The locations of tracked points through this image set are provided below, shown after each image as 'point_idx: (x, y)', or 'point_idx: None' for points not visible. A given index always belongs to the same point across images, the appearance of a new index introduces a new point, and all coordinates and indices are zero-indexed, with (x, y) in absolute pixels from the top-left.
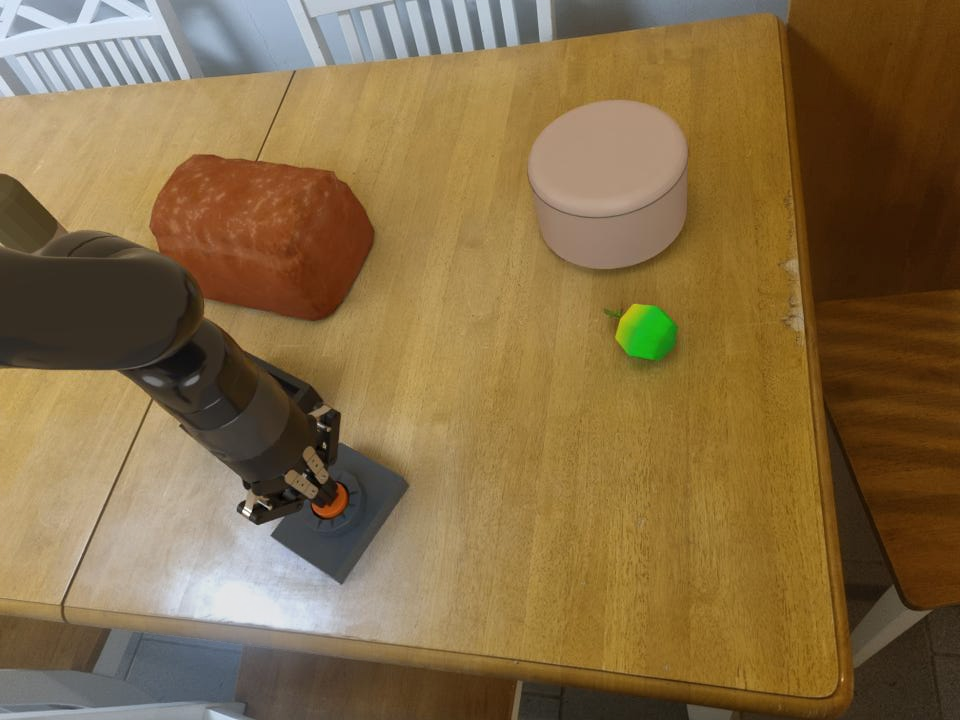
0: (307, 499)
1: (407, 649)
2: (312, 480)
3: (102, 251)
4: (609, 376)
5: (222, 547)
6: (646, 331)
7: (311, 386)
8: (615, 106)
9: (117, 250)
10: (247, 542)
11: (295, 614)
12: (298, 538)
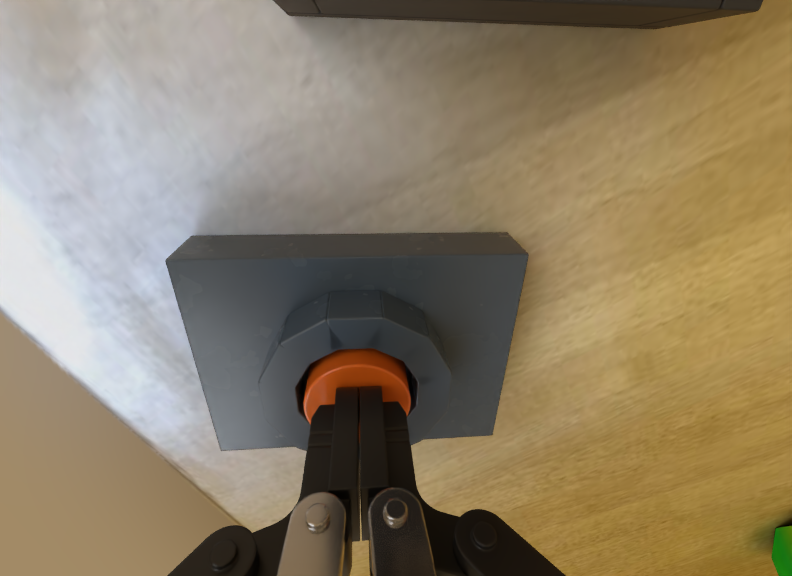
0: (309, 438)
1: None
2: (366, 510)
3: None
4: (743, 517)
5: (18, 57)
6: None
7: (750, 11)
8: None
9: None
10: (110, 138)
11: (115, 376)
12: (225, 335)
